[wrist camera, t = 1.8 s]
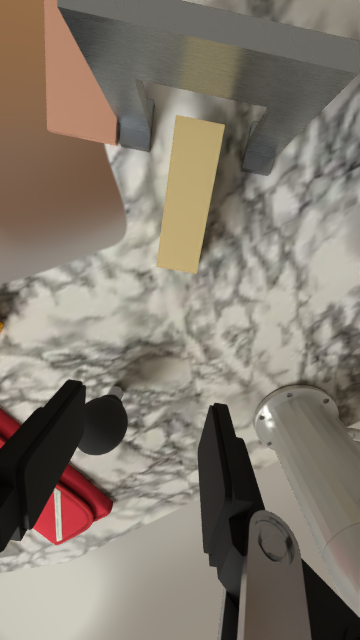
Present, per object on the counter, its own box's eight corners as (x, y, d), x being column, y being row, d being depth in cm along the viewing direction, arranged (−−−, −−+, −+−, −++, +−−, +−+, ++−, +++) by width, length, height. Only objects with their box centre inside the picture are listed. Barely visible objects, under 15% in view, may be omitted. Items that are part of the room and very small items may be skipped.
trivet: (129, -52, 18) (127, -61, 17) (117, 145, 23) (115, 143, 22) (46, -71, 18) (42, -82, 17) (50, 132, 22) (47, 129, 22)
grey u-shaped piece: (279, 131, 22) (381, 4, 10) (267, 175, 23) (347, 106, 12) (125, 99, 21) (56, -72, 10) (121, 146, 23) (57, 43, 11)
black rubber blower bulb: (90, 396, 33) (53, 455, 24) (106, 364, 31) (72, 415, 22) (128, 412, 34) (106, 476, 25) (145, 383, 32) (128, 439, 23)
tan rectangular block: (216, 149, 23) (226, 116, 17) (193, 268, 27) (196, 273, 21) (179, 142, 22) (177, 107, 17) (162, 262, 26) (156, 266, 21)
